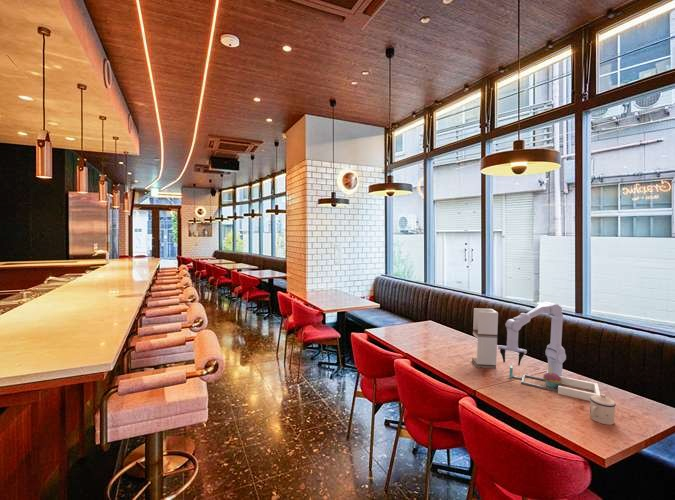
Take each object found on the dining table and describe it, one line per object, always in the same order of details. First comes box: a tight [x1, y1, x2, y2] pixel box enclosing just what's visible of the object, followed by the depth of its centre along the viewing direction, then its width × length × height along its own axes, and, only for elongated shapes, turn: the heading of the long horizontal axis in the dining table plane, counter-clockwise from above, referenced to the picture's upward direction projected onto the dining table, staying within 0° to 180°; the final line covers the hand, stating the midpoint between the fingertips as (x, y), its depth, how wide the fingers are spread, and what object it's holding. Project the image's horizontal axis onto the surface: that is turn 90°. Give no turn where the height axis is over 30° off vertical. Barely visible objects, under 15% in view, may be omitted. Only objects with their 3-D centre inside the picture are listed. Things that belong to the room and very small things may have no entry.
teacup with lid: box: [589, 393, 617, 426], centre depth 152 cm, size 12×9×12 cm
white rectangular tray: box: [557, 375, 601, 402], centre depth 179 cm, size 17×18×4 cm
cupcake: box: [542, 365, 562, 389], centre depth 186 cm, size 9×8×12 cm
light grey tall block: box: [471, 307, 499, 369], centre depth 216 cm, size 11×11×35 cm
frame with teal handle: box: [509, 365, 562, 393], centre depth 190 cm, size 13×25×6 cm, turn 56°
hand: (511, 363), depth 197 cm, fingers open, 7 cm apart
